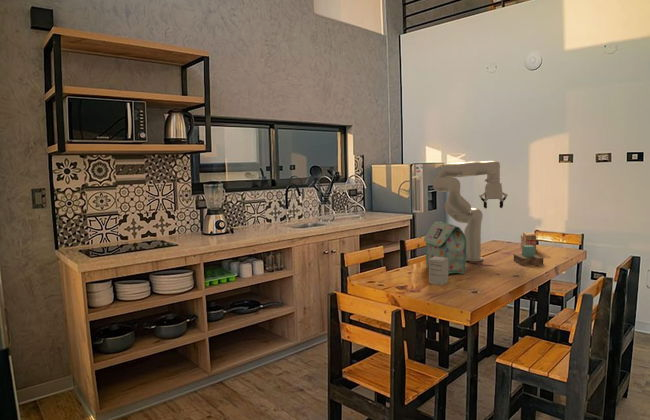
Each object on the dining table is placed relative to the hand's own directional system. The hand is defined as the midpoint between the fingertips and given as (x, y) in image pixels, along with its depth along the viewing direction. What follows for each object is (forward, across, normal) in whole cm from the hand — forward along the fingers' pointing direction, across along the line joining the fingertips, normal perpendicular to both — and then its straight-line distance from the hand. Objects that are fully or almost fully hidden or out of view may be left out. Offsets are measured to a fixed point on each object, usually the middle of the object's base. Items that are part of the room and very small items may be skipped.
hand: (493, 208), depth 290 cm
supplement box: (+30, -48, -67) cm, 88 cm away
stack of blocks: (+31, +27, +12) cm, 42 cm away
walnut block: (+30, +12, -25) cm, 41 cm away
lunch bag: (+30, -39, -41) cm, 64 cm away
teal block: (+26, +12, -25) cm, 38 cm away
